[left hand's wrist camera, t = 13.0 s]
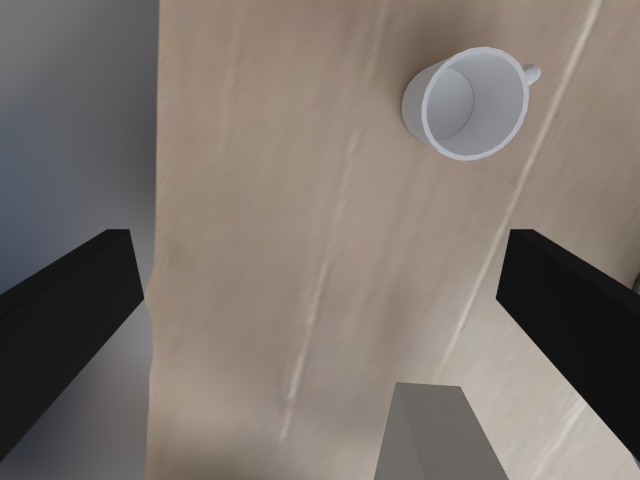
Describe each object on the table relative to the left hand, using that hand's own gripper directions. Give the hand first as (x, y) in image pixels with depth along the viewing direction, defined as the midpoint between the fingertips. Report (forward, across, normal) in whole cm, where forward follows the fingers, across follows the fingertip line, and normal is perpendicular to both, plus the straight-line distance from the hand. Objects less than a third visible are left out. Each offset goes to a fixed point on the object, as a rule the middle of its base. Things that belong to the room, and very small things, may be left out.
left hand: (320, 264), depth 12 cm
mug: (+31, +14, +5) cm, 34 cm away
